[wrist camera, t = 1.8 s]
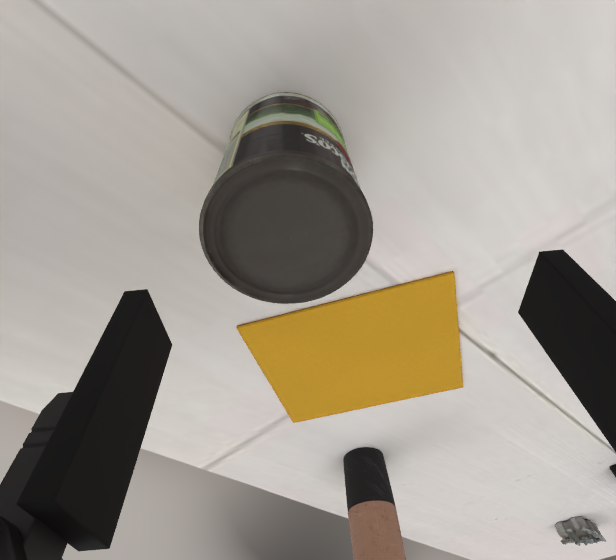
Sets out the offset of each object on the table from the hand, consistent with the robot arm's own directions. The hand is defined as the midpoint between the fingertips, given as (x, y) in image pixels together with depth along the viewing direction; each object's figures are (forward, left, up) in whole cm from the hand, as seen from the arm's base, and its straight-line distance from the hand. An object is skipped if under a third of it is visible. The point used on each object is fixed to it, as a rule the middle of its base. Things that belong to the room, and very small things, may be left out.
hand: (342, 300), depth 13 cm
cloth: (+6, -31, -24) cm, 40 cm away
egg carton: (+62, -97, -24) cm, 118 cm away
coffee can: (-2, -3, -24) cm, 24 cm away
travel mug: (+8, -58, -24) cm, 63 cm away
